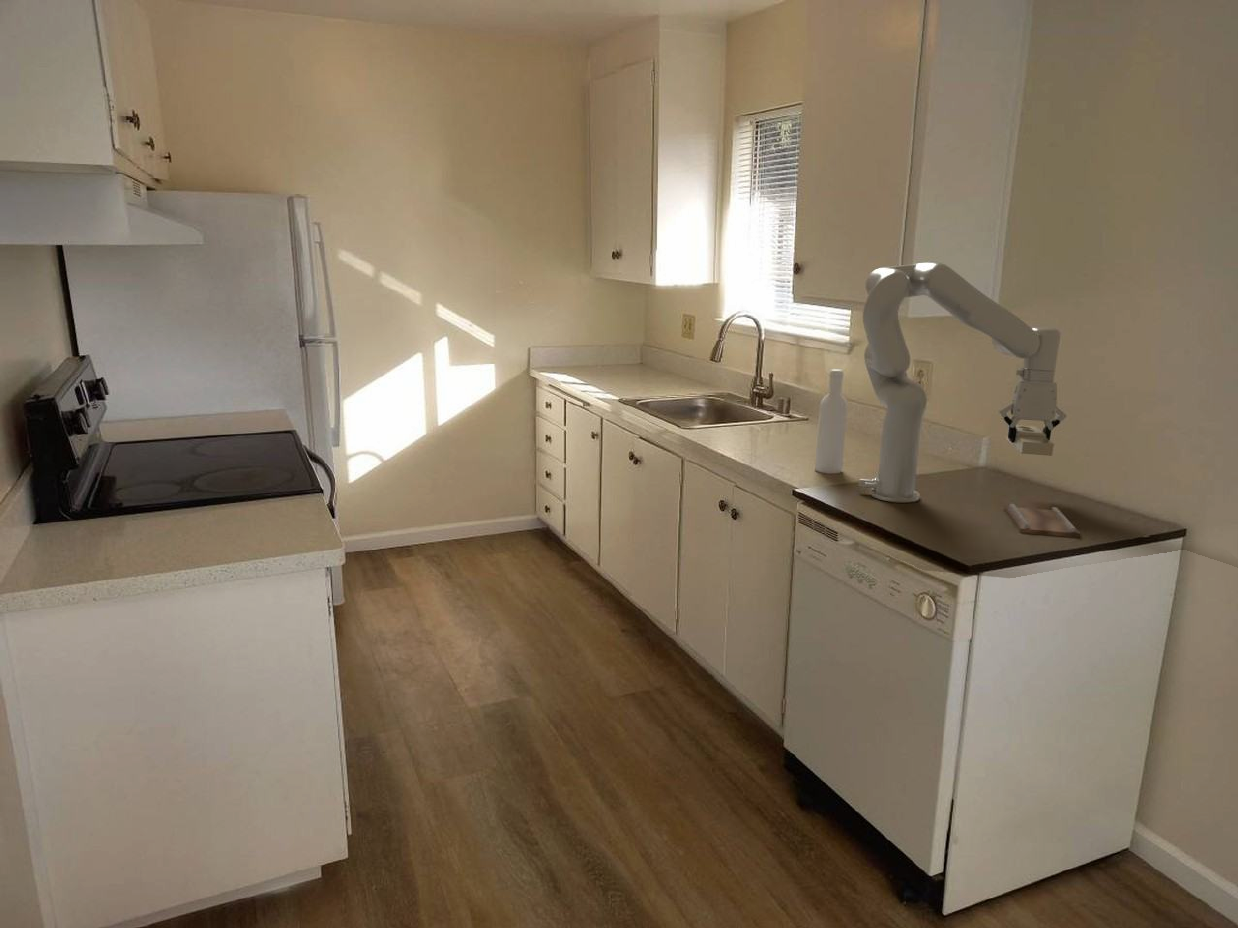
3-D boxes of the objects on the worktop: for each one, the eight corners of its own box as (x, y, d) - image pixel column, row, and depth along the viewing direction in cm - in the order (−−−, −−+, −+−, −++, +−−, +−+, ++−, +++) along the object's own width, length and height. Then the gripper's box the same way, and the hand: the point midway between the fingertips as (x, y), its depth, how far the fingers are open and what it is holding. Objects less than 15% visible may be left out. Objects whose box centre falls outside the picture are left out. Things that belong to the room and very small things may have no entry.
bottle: (816, 466, 261) (824, 367, 253) (843, 468, 258) (852, 369, 250) (813, 472, 253) (821, 370, 246) (840, 475, 251) (849, 372, 243)
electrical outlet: (1023, 437, 217) (1008, 424, 234) (1021, 453, 218) (1005, 438, 235) (1054, 440, 216) (1036, 426, 233) (1051, 455, 217) (1034, 440, 234)
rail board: (1019, 532, 203) (1020, 524, 203) (1004, 510, 220) (1005, 502, 220) (1079, 537, 200) (1080, 529, 200) (1059, 514, 217) (1060, 507, 217)
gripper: (1005, 376, 220) (995, 443, 225) (1078, 380, 217) (1067, 448, 221) (999, 372, 227) (989, 437, 232) (1070, 375, 224) (1059, 442, 228)
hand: (1027, 442), depth 227 cm, fingers closed on electrical outlet, 7 cm apart
